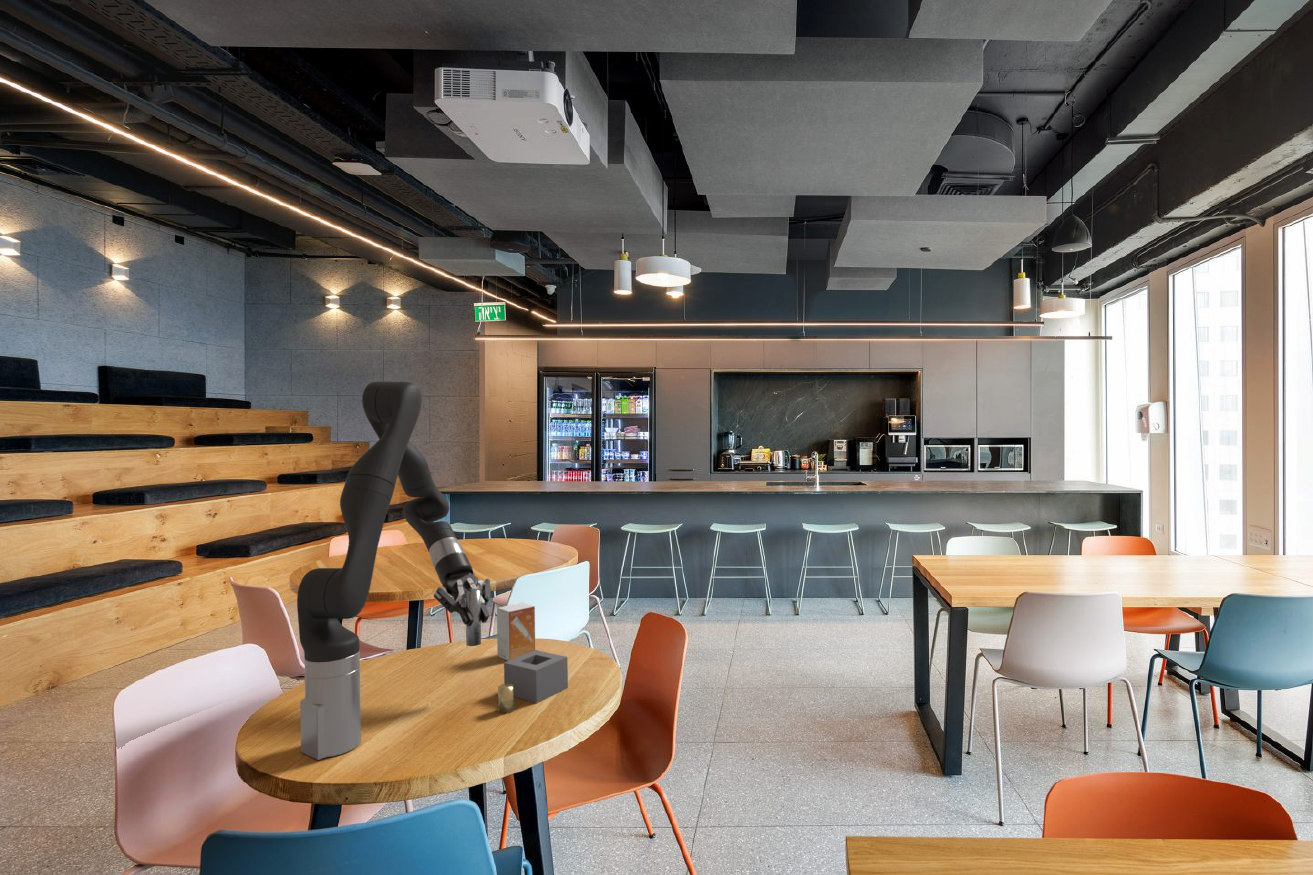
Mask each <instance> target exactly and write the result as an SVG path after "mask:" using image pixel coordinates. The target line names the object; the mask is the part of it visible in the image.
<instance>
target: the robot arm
mask: <svg viewBox="0 0 1313 875" xmlns="http://www.w3.org/2000/svg"><path fill="white" fill-rule="evenodd" d="M361 402H362V403H361V404H362V408H363V411H364V414H365V417H366V418H367V420H368V422H369V425H370V426H371V428H372V429H373V431H374V432H375V434H376V435H377V437H378V439H379V440H378V441H376V443H374V444H373V445H372V446H371V447H370V448H369V449H368V450H367V451H366V452H365V453H364V454H362V455H361V456H360V457H359V458H358V460H356V461H355V463H354V464H353V465H352V466H351V468H350V469H349V471H348V473H347V476H346V479H345V483H344V485H343V489H342V492H341V495H340V500H339V506H340V512H341V515H342V519H343V522H344V525H345V528H346V532H347V535H348V544H347V545H348V546H347V552H346V556H345V560H344V562H343V565H342V567H334V568H333V567H317V568H314V569H311V570H309V571H308V572H306V574H304V576H303V577H302V579H301V580H300V582H299V585H298V589H297V590H298V591H297V595H296V596H297V598H296V604H297V605H296V607H297V609H296V610H297V619H298V620H297V621H298V622H297V623H298V632H299V633H298V635H299V636H298V638H299V642H300V645H301V647H302V650H303V654H304V657H303V658H304V698H303V699H301V700H300V703H299V704H300V705H299V707H300V708H299V709H300V711H299V712H300V753H303V754H304V755H306V756H309V757H310V758H313V759H316V760H318V761H320V760H322V759H325V758H330V757H335V756H340V755H342V754H346V753H348V752H350V751H352V750H354V749H355V748H357V747H358V746H359V745H360V744H361V742H362V715H361V714H362V708H361V707H362V706H361V702H362V701H361V654H360V653H361V652H360V651H361V650H360V649H361V648H360V637H359V635H358V634H357V633H355V632H354V631H351V630H350V629H348V628H346V627H345V626H343V625H342V624H341V623H340V621H339V620H349V619H354V618H356V617H357V616H358V615H359V614H360V613H361V611H362V610H363V609H364V607H365V605H366V602H367V600H368V598H369V594H370V589H371V584H372V580H373V575H374V574H373V573H374V569H375V562H376V556H377V552H378V547H379V544H380V539H381V536H382V532H383V528H384V524H385V520H386V517H387V514H388V510H389V508H390V505H391V501H392V498H393V494H394V491H395V489H396V488H395V487H396V482H397V479H398V478H399V479H398V480H399V482H400V484H401V487H402V490H403V492H404V494H405V495H406V496H407V497H409V498H413V499H411V500H409V501H406V503H405V504H404V505H403V509H402V514H403V517H404V519H405V521H406V522H407V523H408V525H409V526H410V527H411V528H413V530H414V531H415V532H416V533H417V534H418V535H419V536H420V538H421V539H422V541H423V542H424V545H425V547H426V549H427V552H428V553H429V554H428V555H429V557H430V561H431V563H432V566H433V568H434V570H435V572H436V575H437V577H438V579H439V581H440V584H441V585H442V586H439V587H437V588H436V590H435V592H434V593H433V597H434V599H435V600H437V601H438V603H440V605H442V606H443V608H445V609H446V610H447V611H448V612H449V613H451V614H453V613H458V614H459V616H460V619H461V620H462V624H464V625H465V626H466V625H467V627H468V626H471V625H472V623H473V618H472V616H471V613H470V611H469V609H468V607H466V590H468V589H480V596H481V624H484V623H487V622H488V620H489V617H490V613H489V611H488V609H487V605H488V603H489V601H490V600H491V580H490V579H489V578H485V579H484V580H481V579H479V578H478V577H477V576H476V575H475V573H474V570H473V567H472V565H471V563H470V560H469V559H468V556H467V554H466V553H465V550H464V548H463V546H462V545H461V543H460V542H459V540H458V538H457V536H456V534H455V532H454V530H453V528H452V525H451V524H450V523H448V522H447V521H442V520H441V519H444V518H445V517H447V515H448V514H449V511H450V504H449V501H448V500H447V499H446V497H445V496H444V494H443V493H442V492H441V491H440V489H439V488H438V486H437V485H436V483H435V481H434V480H433V477H432V472H431V469H430V467H429V464H428V462H427V461H428V460H427V459H426V458H425V456H424V455H423V454H422V452H421V451H420V450H419V449H418V448H417V447H416V445H414V444H413V443H412V442H411V441H410V440H411V437H412V435H413V431H414V429H415V426H416V424H417V421H418V419H419V416H420V413H421V407H422V392H421V389H420V388H419V386H418V385H417V384H416V383H414V382H411V381H410V382H409V381H372V382H370V383H368V384H367V385H366V386H365V388H364V390H363V392H362V396H361ZM439 520H440V521H439Z"/></svg>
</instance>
